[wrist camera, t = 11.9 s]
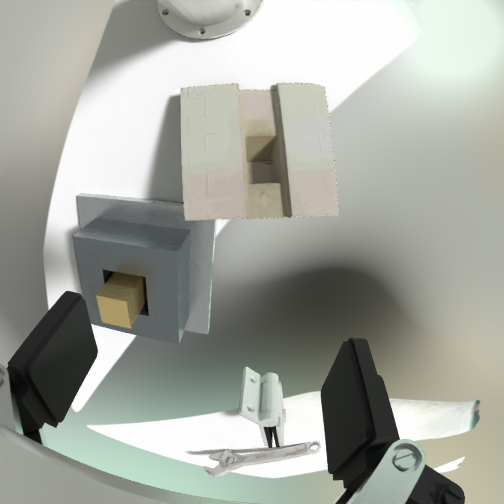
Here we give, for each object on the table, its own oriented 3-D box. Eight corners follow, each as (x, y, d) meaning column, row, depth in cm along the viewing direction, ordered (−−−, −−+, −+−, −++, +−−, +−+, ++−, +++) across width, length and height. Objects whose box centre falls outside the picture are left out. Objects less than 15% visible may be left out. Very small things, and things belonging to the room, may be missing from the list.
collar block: (81, 193, 37) (52, 211, 31) (217, 207, 37) (206, 229, 31) (96, 306, 46) (77, 333, 40) (209, 329, 46) (200, 362, 40)
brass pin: (128, 255, 40) (96, 295, 31) (155, 258, 40) (126, 301, 31) (131, 279, 42) (102, 322, 33) (156, 283, 42) (130, 328, 33)
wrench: (317, 434, 66) (206, 452, 67) (317, 431, 65) (204, 450, 67) (323, 459, 58) (205, 477, 60) (322, 457, 58) (203, 475, 59)
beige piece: (185, 131, 37) (184, 240, 33) (176, 86, 29) (168, 209, 25) (308, 128, 38) (328, 232, 34) (324, 84, 30) (356, 201, 26)
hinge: (242, 366, 50) (237, 413, 41) (271, 360, 49) (270, 408, 40) (268, 407, 56) (267, 449, 47) (293, 402, 55) (295, 445, 46)
